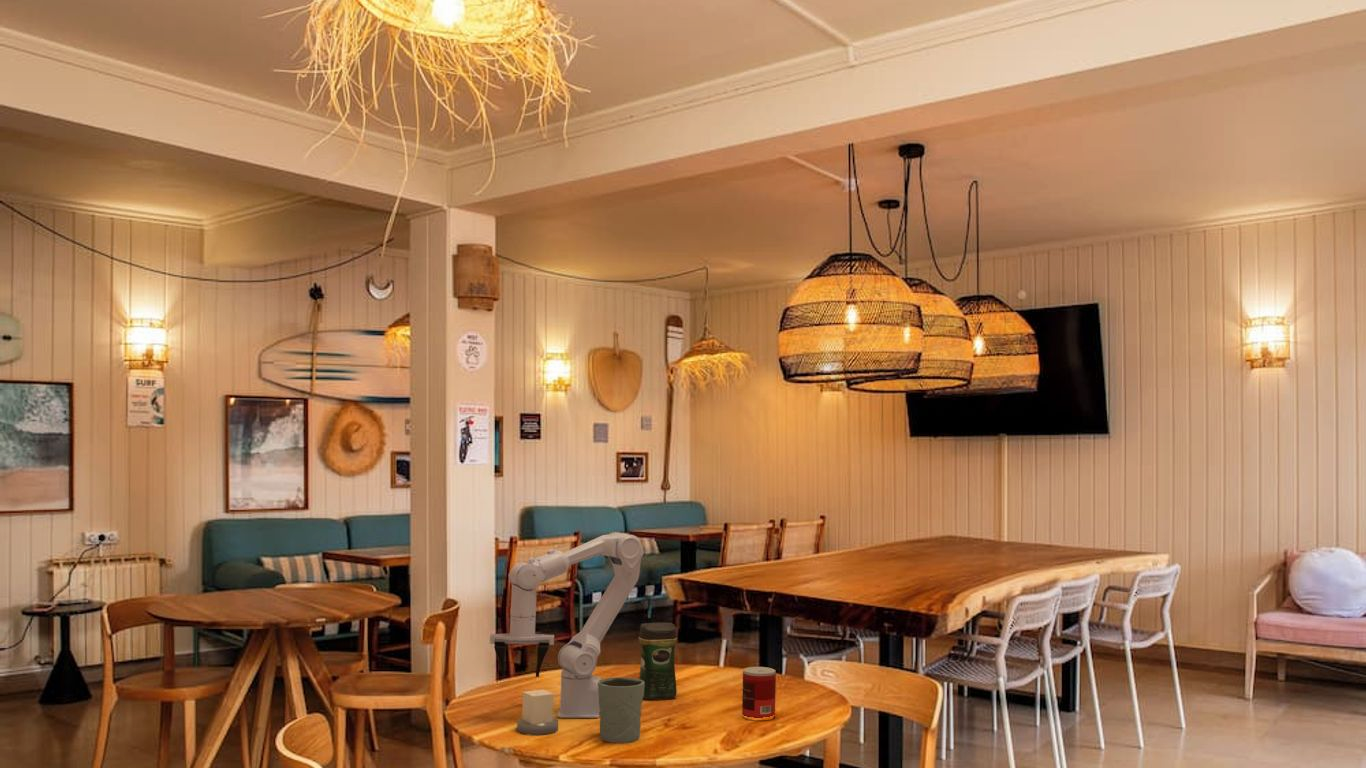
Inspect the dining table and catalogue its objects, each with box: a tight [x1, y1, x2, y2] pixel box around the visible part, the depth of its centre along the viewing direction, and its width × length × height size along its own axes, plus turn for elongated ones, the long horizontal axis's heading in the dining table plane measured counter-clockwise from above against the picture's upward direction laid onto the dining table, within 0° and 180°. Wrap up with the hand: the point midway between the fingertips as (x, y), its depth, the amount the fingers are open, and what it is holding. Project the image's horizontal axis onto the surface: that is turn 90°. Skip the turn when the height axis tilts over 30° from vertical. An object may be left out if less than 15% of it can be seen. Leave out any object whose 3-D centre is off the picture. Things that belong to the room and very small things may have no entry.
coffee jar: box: [638, 622, 678, 700], centre depth 269 cm, size 10×8×19 cm
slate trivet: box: [516, 716, 559, 736], centre depth 235 cm, size 9×9×2 cm
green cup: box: [598, 676, 644, 744], centre depth 230 cm, size 10×10×12 cm
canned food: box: [741, 666, 777, 718], centre depth 251 cm, size 8×8×11 cm
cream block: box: [521, 689, 555, 724], centre depth 235 cm, size 5×5×6 cm
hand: (520, 675), depth 243 cm, fingers open, 7 cm apart
